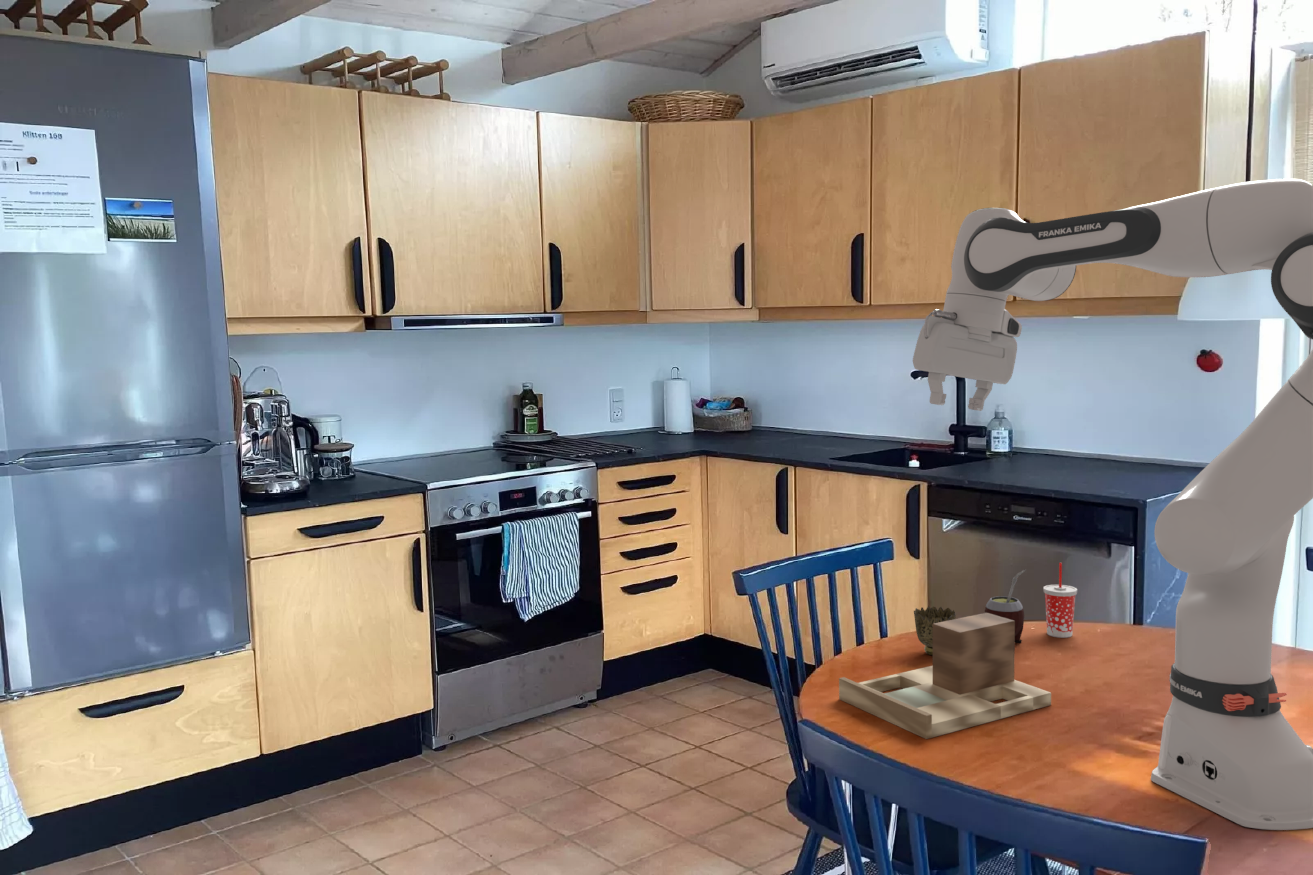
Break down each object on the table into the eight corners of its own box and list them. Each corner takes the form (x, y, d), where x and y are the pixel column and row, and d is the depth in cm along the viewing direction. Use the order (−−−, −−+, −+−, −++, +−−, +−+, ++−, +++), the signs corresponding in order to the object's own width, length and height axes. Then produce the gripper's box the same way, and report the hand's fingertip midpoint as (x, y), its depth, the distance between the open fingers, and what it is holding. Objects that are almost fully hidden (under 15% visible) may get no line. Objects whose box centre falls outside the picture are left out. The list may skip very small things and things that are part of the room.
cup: (912, 647, 199) (912, 605, 198) (952, 648, 198) (952, 605, 197) (916, 659, 191) (916, 616, 190) (958, 660, 190) (958, 616, 189)
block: (986, 671, 178) (986, 612, 177) (1014, 681, 173) (1014, 620, 172) (932, 684, 172) (932, 623, 171) (959, 694, 167) (959, 632, 166)
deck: (957, 671, 184) (957, 651, 184) (1051, 705, 167) (1051, 683, 167) (839, 699, 172) (839, 678, 172) (926, 739, 154) (926, 715, 154)
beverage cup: (1072, 640, 200) (1073, 567, 199) (1039, 636, 204) (1040, 564, 202) (1079, 632, 205) (1080, 561, 204) (1046, 628, 209) (1047, 558, 207)
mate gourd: (988, 634, 206) (989, 557, 204) (1031, 638, 202) (1032, 561, 201) (980, 644, 199) (981, 565, 198) (1024, 649, 196) (1025, 569, 194)
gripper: (946, 308, 152) (929, 404, 153) (1028, 327, 165) (1012, 415, 166) (911, 305, 157) (895, 398, 158) (994, 324, 169) (979, 410, 171)
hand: (956, 407), depth 162 cm, fingers open, 8 cm apart
